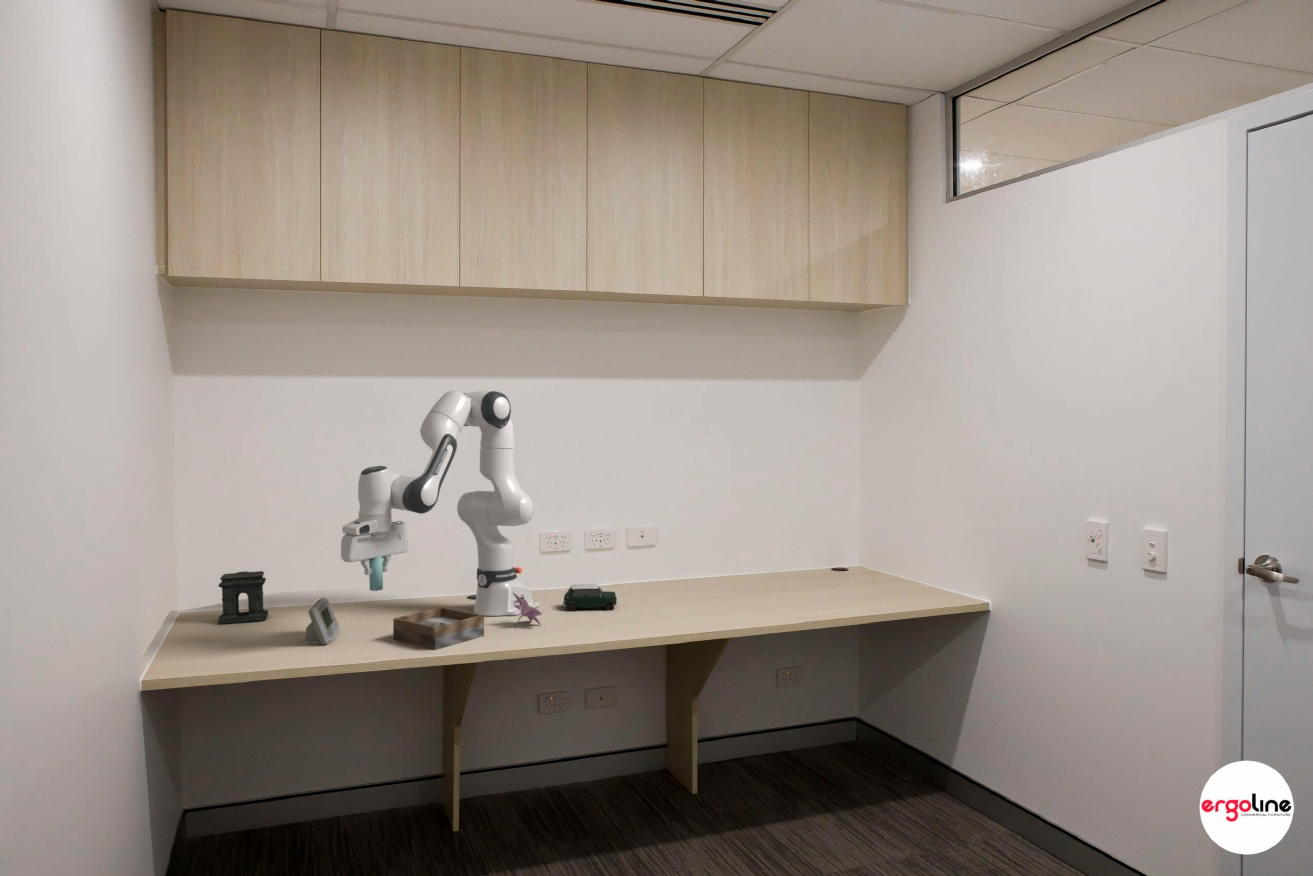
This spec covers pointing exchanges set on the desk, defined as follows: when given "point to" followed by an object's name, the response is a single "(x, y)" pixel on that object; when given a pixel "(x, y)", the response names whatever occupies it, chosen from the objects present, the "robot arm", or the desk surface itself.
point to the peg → (376, 573)
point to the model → (233, 588)
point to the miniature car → (588, 597)
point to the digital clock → (321, 622)
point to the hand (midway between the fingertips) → (376, 573)
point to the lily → (527, 610)
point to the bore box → (438, 627)
